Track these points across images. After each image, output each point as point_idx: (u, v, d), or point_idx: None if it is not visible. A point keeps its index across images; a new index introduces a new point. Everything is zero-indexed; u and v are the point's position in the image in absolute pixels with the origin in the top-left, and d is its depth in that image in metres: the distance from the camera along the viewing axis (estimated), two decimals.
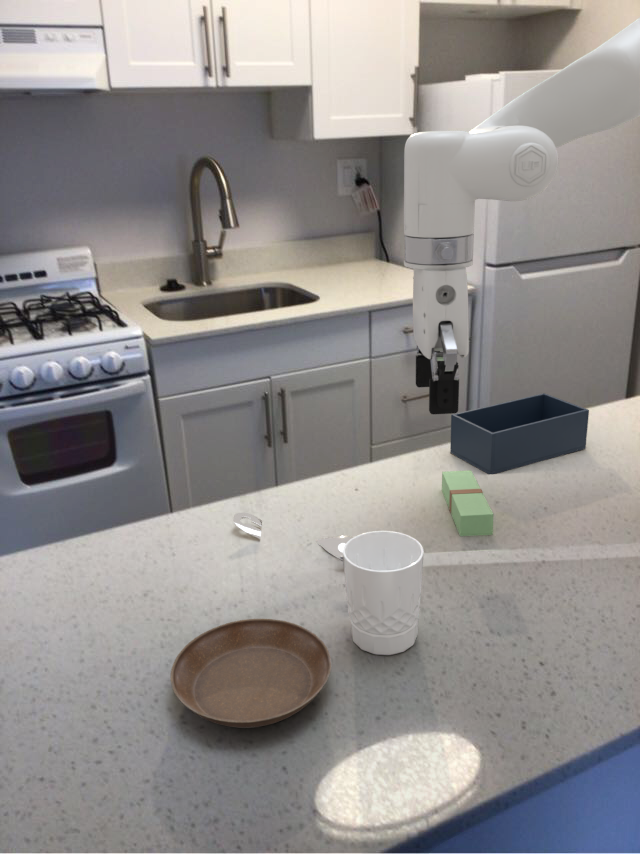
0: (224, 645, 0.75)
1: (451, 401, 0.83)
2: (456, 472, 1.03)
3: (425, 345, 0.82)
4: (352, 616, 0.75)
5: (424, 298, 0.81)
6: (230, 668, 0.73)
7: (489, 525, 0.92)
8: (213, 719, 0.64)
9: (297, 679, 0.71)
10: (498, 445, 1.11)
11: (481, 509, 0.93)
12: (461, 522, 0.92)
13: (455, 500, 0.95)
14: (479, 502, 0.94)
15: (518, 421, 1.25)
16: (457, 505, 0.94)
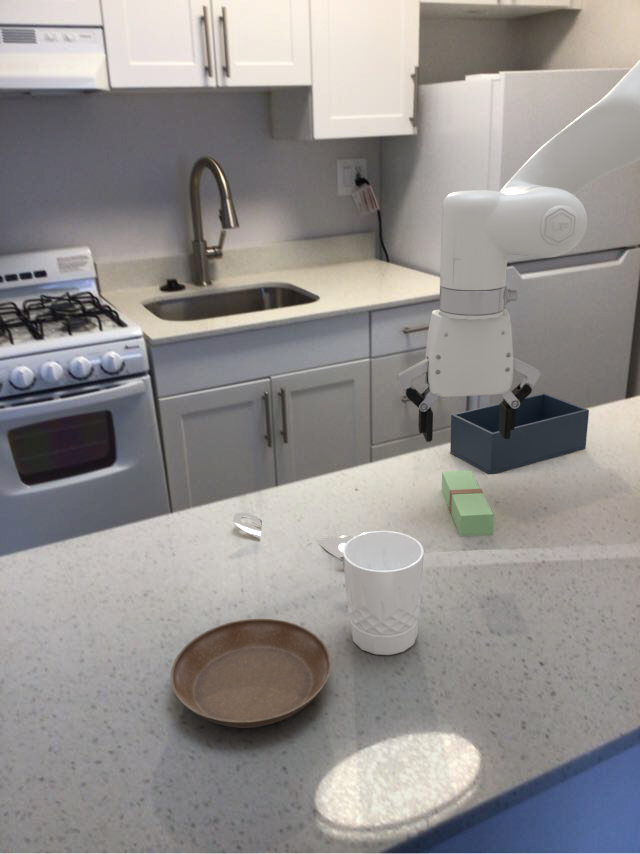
0: (224, 645, 0.75)
1: None
2: (456, 472, 1.03)
3: (508, 381, 0.90)
4: (352, 616, 0.75)
5: (507, 340, 0.88)
6: (230, 668, 0.73)
7: (489, 525, 0.92)
8: (213, 719, 0.64)
9: (297, 679, 0.71)
10: (498, 445, 1.11)
11: (481, 509, 0.93)
12: (461, 522, 0.92)
13: (455, 500, 0.95)
14: (479, 502, 0.94)
15: (518, 421, 1.25)
16: (457, 505, 0.94)
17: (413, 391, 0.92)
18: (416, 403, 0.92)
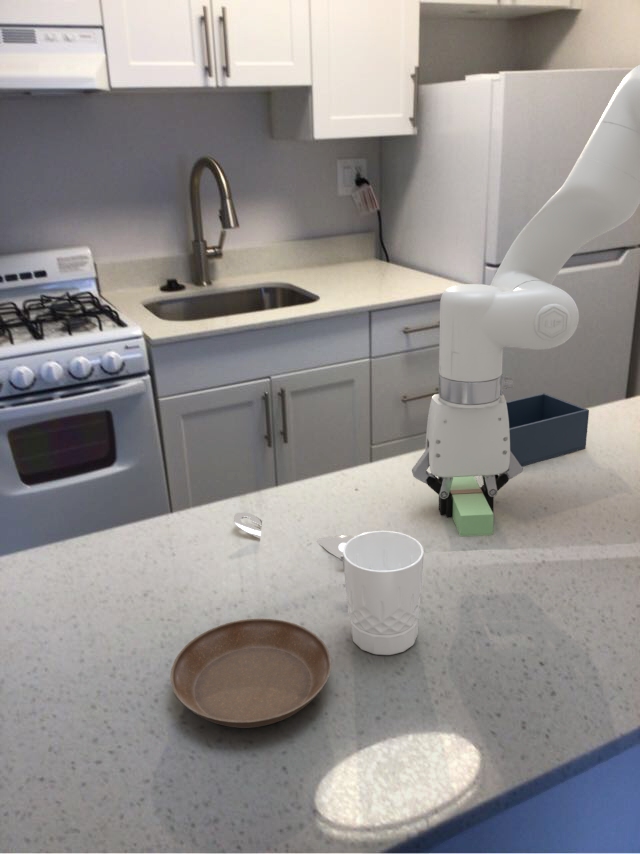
0: (224, 645, 0.75)
1: None
2: None
3: (505, 462, 0.94)
4: (352, 616, 0.75)
5: (504, 425, 0.92)
6: (230, 668, 0.73)
7: (489, 525, 0.92)
8: (213, 719, 0.64)
9: (297, 679, 0.71)
10: None
11: (481, 509, 0.93)
12: (461, 522, 0.92)
13: (455, 500, 0.95)
14: (479, 502, 0.94)
15: (518, 421, 1.25)
16: (457, 505, 0.94)
17: (434, 480, 0.96)
18: (436, 490, 0.96)
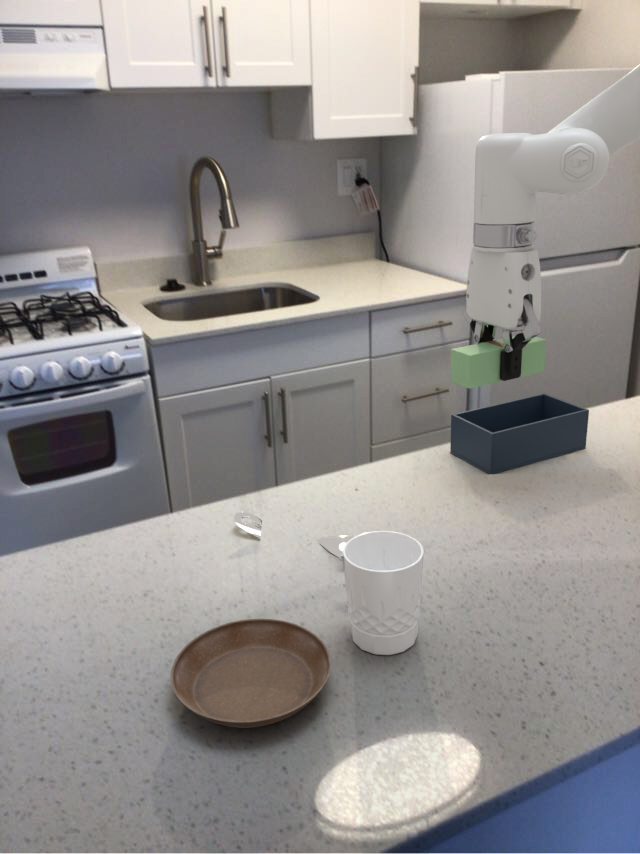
0: (224, 645, 0.75)
1: (519, 367, 1.00)
2: None
3: (511, 317, 0.95)
4: (352, 616, 0.75)
5: (509, 277, 0.94)
6: (230, 668, 0.73)
7: (467, 365, 0.98)
8: (213, 719, 0.64)
9: (297, 679, 0.71)
10: (498, 445, 1.11)
11: (472, 351, 0.98)
12: (451, 355, 1.00)
13: (476, 344, 1.02)
14: (484, 349, 0.99)
15: (518, 421, 1.25)
16: (468, 346, 1.01)
17: (474, 322, 1.04)
18: None
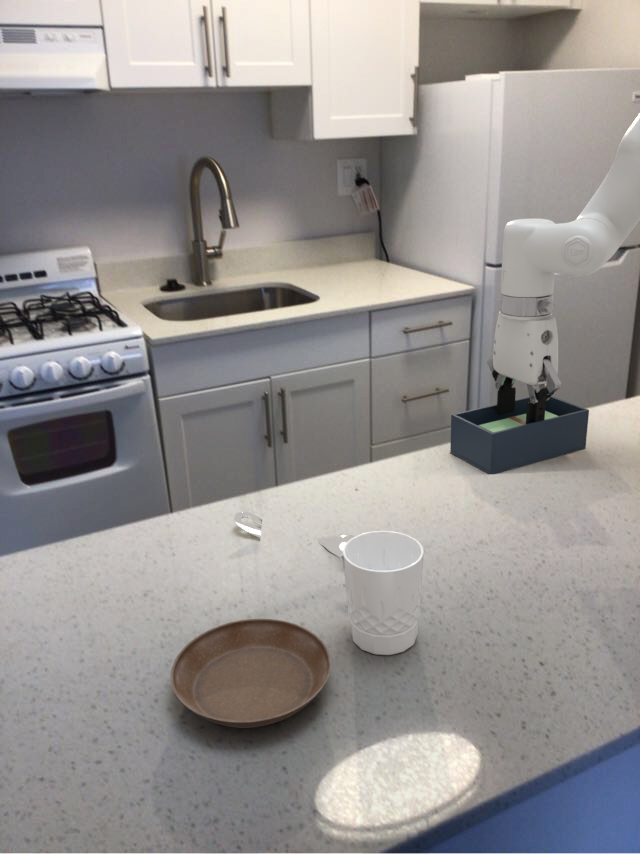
0: (224, 645, 0.75)
1: (543, 416, 1.15)
2: (548, 413, 1.21)
3: (532, 375, 1.11)
4: (352, 616, 0.75)
5: (531, 341, 1.09)
6: (230, 668, 0.73)
7: None
8: (213, 719, 0.64)
9: (297, 679, 0.71)
10: (498, 445, 1.11)
11: (497, 428, 1.16)
12: None
13: (499, 420, 1.19)
14: (507, 426, 1.16)
15: None
16: (493, 422, 1.19)
17: (495, 372, 1.20)
18: None
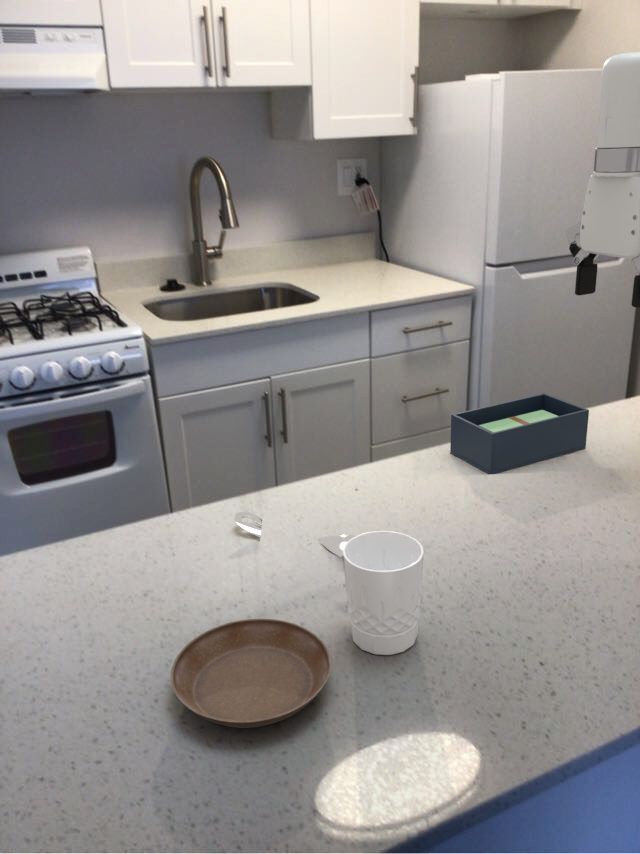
0: (224, 645, 0.75)
1: None
2: (548, 413, 1.21)
3: (634, 245, 0.93)
4: (352, 616, 0.75)
5: (635, 202, 0.91)
6: (230, 668, 0.73)
7: None
8: (213, 719, 0.64)
9: (297, 679, 0.71)
10: (498, 445, 1.11)
11: (497, 428, 1.16)
12: None
13: (499, 420, 1.19)
14: (507, 426, 1.16)
15: None
16: (493, 422, 1.19)
17: (573, 245, 1.03)
18: None
